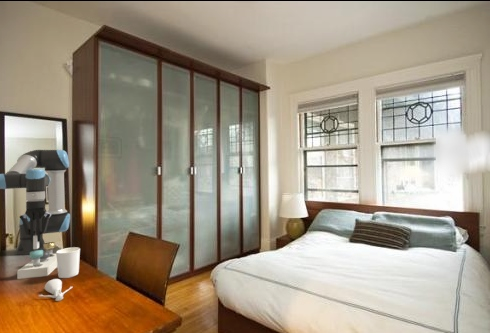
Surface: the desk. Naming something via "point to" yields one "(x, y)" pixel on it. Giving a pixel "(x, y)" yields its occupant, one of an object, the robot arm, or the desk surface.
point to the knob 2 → (49, 247)
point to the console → (38, 268)
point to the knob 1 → (36, 257)
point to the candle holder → (68, 262)
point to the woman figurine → (55, 289)
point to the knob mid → (45, 256)
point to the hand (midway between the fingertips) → (36, 248)
